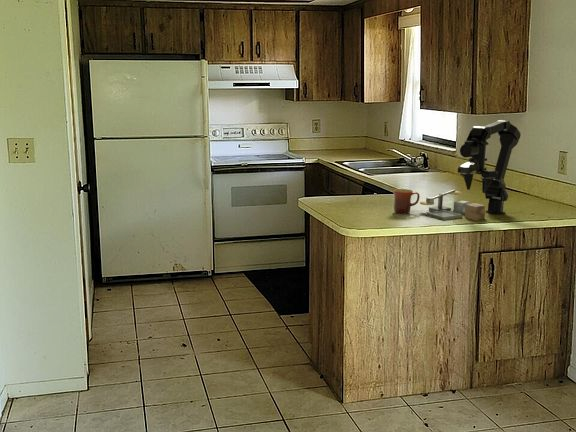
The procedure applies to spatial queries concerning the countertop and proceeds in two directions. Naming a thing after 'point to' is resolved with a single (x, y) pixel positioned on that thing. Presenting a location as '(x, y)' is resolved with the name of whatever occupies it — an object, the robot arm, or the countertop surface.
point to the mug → (403, 200)
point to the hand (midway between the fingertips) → (475, 191)
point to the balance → (439, 201)
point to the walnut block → (474, 211)
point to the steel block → (460, 206)
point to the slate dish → (444, 215)
